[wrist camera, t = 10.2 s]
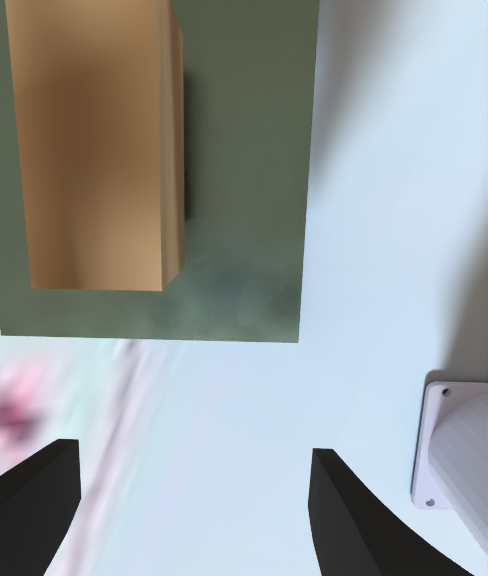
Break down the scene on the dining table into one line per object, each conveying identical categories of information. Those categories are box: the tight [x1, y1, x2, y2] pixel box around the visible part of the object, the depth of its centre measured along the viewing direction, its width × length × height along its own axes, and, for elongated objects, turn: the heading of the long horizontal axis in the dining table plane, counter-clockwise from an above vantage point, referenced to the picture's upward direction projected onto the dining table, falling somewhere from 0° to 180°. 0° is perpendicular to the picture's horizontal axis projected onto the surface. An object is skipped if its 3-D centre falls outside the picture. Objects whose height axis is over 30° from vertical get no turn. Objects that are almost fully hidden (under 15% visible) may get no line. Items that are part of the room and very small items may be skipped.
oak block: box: [5, 0, 185, 291], centre depth 13 cm, size 4×9×5 cm, turn 179°
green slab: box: [0, 0, 319, 343], centre depth 18 cm, size 15×17×4 cm
